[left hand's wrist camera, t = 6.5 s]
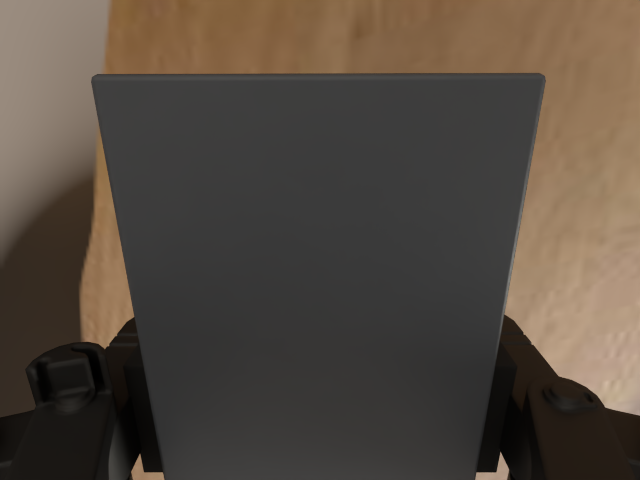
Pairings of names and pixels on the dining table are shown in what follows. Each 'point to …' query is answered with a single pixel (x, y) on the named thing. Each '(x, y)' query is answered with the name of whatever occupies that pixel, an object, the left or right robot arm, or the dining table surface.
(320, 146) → the post
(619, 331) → the dining table surface
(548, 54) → the dining table surface
